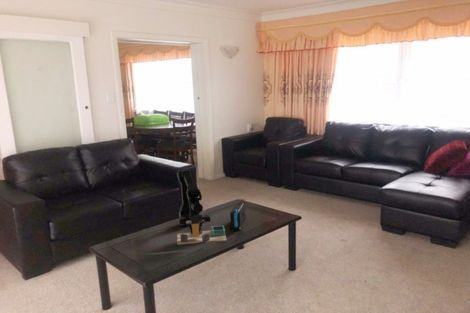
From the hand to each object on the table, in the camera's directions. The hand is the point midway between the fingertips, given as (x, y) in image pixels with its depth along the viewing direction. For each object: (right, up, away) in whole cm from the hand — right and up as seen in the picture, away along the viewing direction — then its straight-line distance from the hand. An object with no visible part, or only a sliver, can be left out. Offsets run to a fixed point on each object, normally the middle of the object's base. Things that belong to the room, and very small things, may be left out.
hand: (195, 232), depth 227 cm
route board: (+3, -4, +4) cm, 7 cm away
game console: (+27, 0, +25) cm, 36 cm away
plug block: (0, -2, 0) cm, 2 cm away
